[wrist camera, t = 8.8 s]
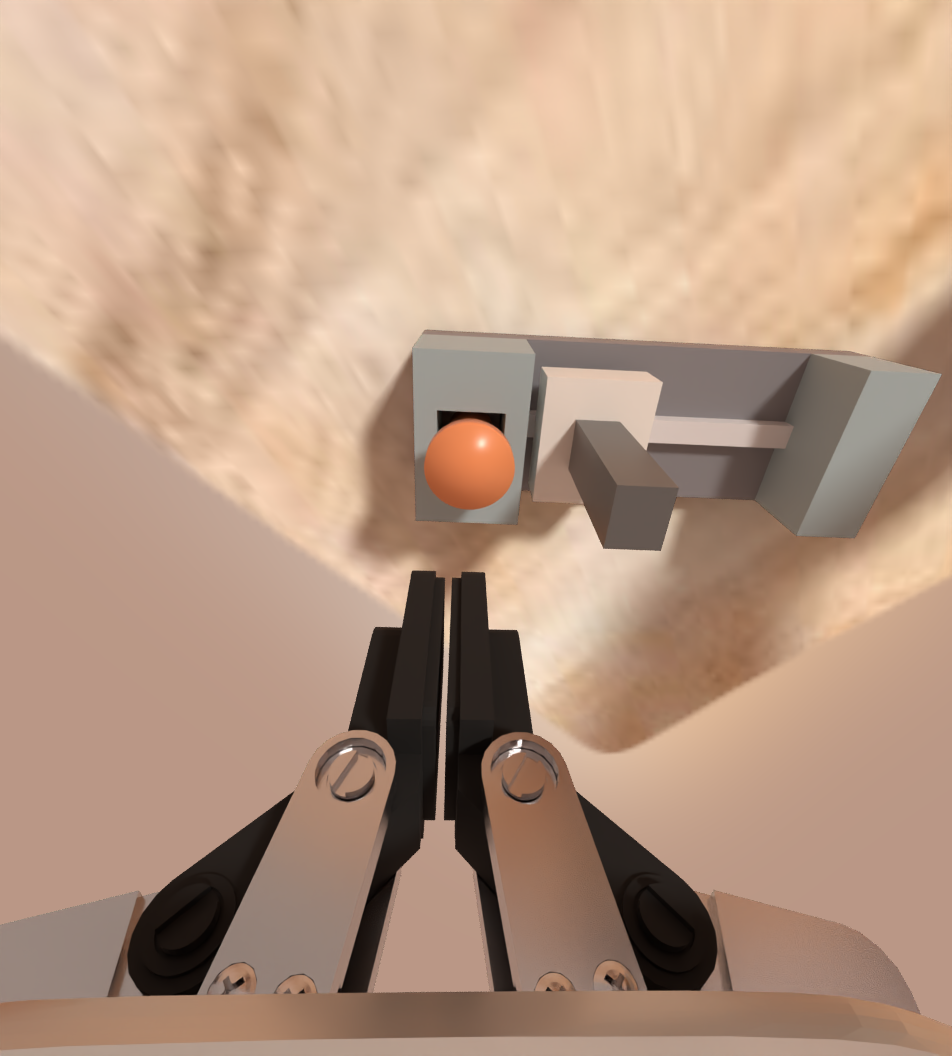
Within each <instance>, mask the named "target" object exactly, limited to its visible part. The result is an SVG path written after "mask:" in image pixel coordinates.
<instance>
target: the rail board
mask: <svg viewBox="0 0 952 1056" xmlns="http://www.w3.org/2000/svg"><path fill="white" fill-rule="evenodd" d="M412 355H413V405H414V456H415V506H416V521H438V522H463V523H488V524H512V525H517V524H518V515H519V505H520V496H521V490H528V491H530V488H529V484H528V481H529V472H530V463H531V455H532V446H533V437H534V428H535V419H536V410H537V402H538V393H539V384H540V375H541V367H560V368H581V369H601V370H622V371H642V372H648V373H649V374H651V375H652V376H654V377H655V378H657V379H658V380H660V381H662V382H663V384H662V388H661V393H660V397H659V401H658V405H657V409H656V413H655V417H654V421H653V425H652V430H651V434H650V438H649V442H648V446H647V450H646V451H647V452H648V453H649V455H650V456H651V457H652V458H653V459H654V460H655V461H656V462H657V464H658V465H659V466H660V467H661V468H662V469H663V470H664V471H665V473H666V474H667V475H668V476H669V477H670V478H671V479H672V480H673V482H674V483H675V484H676V485H677V486H678V487H679V490H678V493H677V497H694V498H718V499H742V500H755V501H756V502H758V503H759V504H760V505H761V506H762V507H763V508H764V509H766V510H767V511H768V512H769V513H770V514H771V515H773V516H774V517H775V518H776V519H777V520H778V521H780V522H781V523H782V524H783V525H784V526H785V527H786V528H788V529H789V530H790V531H791V532H792V533H793V534H795V535H796V536H812V537H836V538H855V537H856V535H857V533H858V531H859V529H860V528H861V526H862V524H863V522H864V520H865V518H866V516H867V514H868V512H869V511H870V509H871V507H872V505H873V503H874V501H875V499H876V497H877V496H878V494H879V492H880V490H881V488H882V486H883V484H884V482H885V480H886V479H887V477H888V475H889V473H890V471H891V469H892V467H893V465H894V464H895V462H896V460H897V458H898V456H899V454H900V452H901V450H902V448H903V447H904V445H905V443H906V441H907V439H908V437H909V435H910V433H911V432H912V430H913V428H914V426H915V424H916V422H917V420H918V418H919V416H920V415H921V413H922V411H923V409H924V407H925V405H926V403H927V401H928V400H929V398H930V396H931V394H932V392H933V390H934V388H935V386H936V384H937V383H938V381H939V379H940V377H941V375H942V374H939V373H935V372H931V371H927V370H923V369H919V368H915V367H911V366H907V365H903V364H899V363H895V362H891V361H887V360H883V359H879V358H875V357H870V356H866V355H862V354H858V353H854V352H850V351H832V350H812V349H792V348H773V347H753V346H733V345H713V344H694V343H674V342H654V341H634V340H615V339H595V338H575V337H555V336H536V335H516V334H496V333H476V332H457V331H437V330H425V331H424V332H423V333H422V335H421V336H420V338H419V339H418V341H417V342H416V343H415V345H414V346H413V348H412ZM457 411H462V412H483V413H486V414H487V415H488V416H489V417H490V419H491V421H492V425H493V426H495V427H496V428H498V429H499V430H500V431H501V432H502V433H503V434H504V435H505V437H506V438H507V440H508V441H509V443H510V446H511V448H512V452H513V457H514V463H515V473H514V478H513V481H512V484H511V486H510V488H509V489H508V491H507V492H506V493H505V494H504V496H503V497H501V498H500V499H499V500H498V501H496V502H495V503H493V504H491V505H489V506H487V507H484V508H480V509H474V510H466V509H459V508H455V507H453V506H450V505H448V504H446V503H444V502H443V501H441V500H440V499H439V498H438V497H437V496H436V495H435V494H434V493H433V492H432V490H431V489H430V487H429V485H428V483H427V481H426V478H425V473H424V461H425V456H426V452H427V449H428V446H429V443H430V442H431V440H432V438H433V437H434V435H435V434H436V433H437V432H438V431H439V430H440V429H441V428H443V427H444V426H446V425H447V424H449V421H450V419H451V417H452V416H453V415H454V414H455V413H456V412H457Z"/></svg>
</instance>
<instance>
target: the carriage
mask: <svg viewBox="0 0 952 1056" xmlns="http://www.w3.org/2000/svg"><path fill="white" fill-rule="evenodd" d="M662 384H663V382H662V381H660V380H658V379H657V378H655V377H654V376H652V375H651V374H649V373H648V372H642V371H622V370H601V369H581V368H560V367H541V375H540V384H539V393H538V402H537V410H536V419H535V428H534V437H533V446H532V455H531V463H530V472H529V481H528V484H529V488H530V492H531V497H532V501H533V502H553V503H577V504H584V506H585V508H586V510H587V513H588V515H589V517H590V519H591V522H592V524H593V526H594V528H595V531H596V533H597V535H598V537H599V540H600V542H601V544H602V546H603V549H629V550H655V551H661V548H662V545H663V541H664V538H665V534H666V531H667V528H668V524H669V521H670V517H671V514H672V510H673V507H674V504H675V500H676V497H677V493H678V490H679V487H678V486H677V485H676V484H675V483H674V482H673V480H672V479H671V478H670V477H669V476H668V475H667V474H666V473H665V471H664V470H663V469H662V468H661V467H660V466H659V465H658V464H657V462H656V461H655V460H654V459H653V458H652V457H651V456H650V455H649V453H648V452H647V451H646V450H647V446H648V442H649V438H650V434H651V430H652V425H653V421H654V417H655V413H656V409H657V405H658V401H659V397H660V393H661V388H662Z"/></svg>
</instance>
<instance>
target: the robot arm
mask: <svg viewBox="0 0 952 1056" xmlns="http://www.w3.org/2000/svg"><path fill="white" fill-rule="evenodd" d="M444 598H445V578H438V577H436V571H412V573H411V579H410V585H409V591H408V596H407V602H406V608H405V614H404V620H403V625H402V628H395V627H394V628H393V627H375V629H374V631H373V634H372V638H371V641H370V646H369V649H368V653H367V657H366V662H365V666H364V670H363V673H362V678H361V682H360V685H359V690H358V694H357V697H356V702H355V706H354V709H353V714H352V717H351V721H350V725H349V729H348V732H344V733H340V734H338V735H336V736H334V737H332V738H330V739H329V740H327V741H326V742H325V743H323V744H322V745H321V746H320V747H319V748H318V749H317V750H316V751H315V753H314V754H313V756H312V757H311V759H310V760H309V762H308V764H307V766H306V768H305V770H304V772H303V774H302V776H301V779H300V781H299V783H298V785H297V787H296V789H295V791H294V792H292V793H291V794H290V795H288V796H287V797H286V798H284V799H283V800H282V801H280V802H279V803H277V804H276V805H275V806H273V807H272V808H271V809H269V810H268V811H266V812H265V813H264V814H263V815H261V816H260V817H258V818H257V819H256V820H254V821H253V822H252V823H250V824H249V825H247V826H246V827H245V828H243V829H242V830H240V831H239V832H238V833H236V834H235V835H234V836H232V837H231V838H230V839H228V840H227V841H226V842H224V843H223V844H221V845H220V846H219V847H217V848H216V849H215V850H213V851H212V852H211V853H209V854H208V855H206V856H205V857H204V858H202V859H201V860H200V861H198V862H197V863H196V864H194V865H193V866H192V867H190V868H189V869H187V870H186V871H185V872H183V873H182V874H180V875H179V876H178V877H176V878H175V879H174V880H172V881H171V882H170V883H169V884H168V885H167V886H166V887H165V888H163V889H162V890H161V891H160V892H157V893H153V894H150V895H145V896H142V895H141V893H140V892H139V891H135V892H132V893H128V894H124V895H120V896H115V897H111V898H107V899H103V900H99V901H95V902H91V903H87V904H83V905H79V906H75V907H71V908H67V909H63V910H58V911H54V912H50V913H46V914H43V915H38V916H35V917H30V918H26V919H22V920H18V921H14V922H10V923H6V924H2V925H0V1056H952V1026H949V1025H946V1024H944V1023H941V1022H939V1021H936V1020H934V1019H931V1018H928V1017H926V1016H923V1015H921V1014H920V1011H919V1009H918V1007H917V1004H916V1002H915V1000H914V998H913V995H912V993H911V991H910V989H909V988H908V986H907V984H906V982H905V980H904V979H903V977H902V975H901V973H900V972H899V970H898V968H897V967H896V966H895V965H894V964H893V962H892V961H891V960H890V959H889V958H888V957H887V956H886V955H885V953H884V952H883V951H882V950H881V949H880V948H879V947H878V946H877V945H876V944H874V943H873V942H872V941H870V940H869V939H868V938H867V937H865V936H864V935H863V934H861V933H860V932H858V931H856V930H853V929H851V928H849V927H847V926H845V925H842V924H840V923H836V922H832V921H828V920H825V919H821V918H817V917H813V916H809V915H806V914H802V913H798V912H795V911H791V910H787V909H783V908H779V907H775V906H771V905H768V904H764V903H761V902H757V901H753V900H749V899H745V898H742V897H738V896H734V895H730V894H727V893H723V892H719V891H715V890H714V891H713V892H712V894H711V895H707V894H704V893H700V892H696V891H693V890H692V889H691V888H690V887H689V886H688V884H687V883H685V881H684V880H682V879H681V878H680V877H679V876H678V875H677V874H675V873H674V872H673V871H672V870H671V869H669V868H668V867H667V866H666V865H664V864H663V863H662V862H661V861H659V860H658V859H657V858H656V857H655V856H654V855H652V854H651V853H650V852H649V851H648V850H646V849H645V848H644V847H643V846H641V845H640V844H639V843H638V842H637V841H636V840H634V839H633V838H632V837H631V836H629V835H628V834H627V833H626V832H625V831H623V830H622V829H621V828H620V827H619V826H617V825H616V824H615V823H614V822H613V821H611V820H610V819H609V818H608V817H607V816H605V815H604V814H603V813H602V812H601V811H599V810H598V809H597V808H596V807H595V806H593V805H592V804H591V803H590V802H589V801H587V800H586V799H585V798H584V797H583V796H581V795H580V794H579V793H578V792H576V790H575V788H574V785H573V782H572V779H571V776H570V774H569V771H568V768H567V765H566V763H565V761H564V759H563V757H562V756H561V754H560V752H559V751H558V750H557V749H556V748H555V747H554V746H553V745H552V744H551V743H550V742H548V741H546V740H545V739H543V738H542V737H540V736H537V735H534V734H533V731H532V724H531V717H530V710H529V703H528V696H527V689H526V682H525V675H524V668H523V661H522V654H521V647H520V640H519V634H518V631H517V630H489V628H488V612H487V596H486V581H485V573H484V572H462V574H461V578H452V596H451V620H450V645H449V669H448V671H449V672H448V694H447V722H446V762H445V803H444V820H455V849H456V850H457V851H458V852H459V853H460V854H461V855H462V857H463V858H464V859H465V860H466V861H467V862H468V863H469V864H470V865H471V866H472V868H473V879H474V886H475V892H476V899H477V907H478V914H479V921H480V928H481V935H482V940H483V948H484V955H485V962H486V969H487V976H488V983H489V990H490V992H405V993H404V992H403V993H373V990H374V986H375V982H376V977H377V974H378V969H379V965H380V961H381V957H382V953H383V948H384V944H385V940H386V936H387V931H388V927H389V923H390V919H391V914H392V910H393V906H394V902H395V898H396V894H397V889H398V885H399V881H400V876H401V868H402V866H403V865H404V864H405V863H406V862H407V861H408V860H409V859H410V858H411V857H412V856H413V855H414V854H415V853H416V852H417V851H418V850H419V849H420V841H421V839H422V838H423V833H424V820H435V813H436V812H435V811H436V795H437V794H436V793H437V776H438V758H439V739H440V721H441V720H440V719H441V702H442V683H443V655H444Z"/></svg>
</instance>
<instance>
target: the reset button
mask: <svg viewBox="0 0 952 1056" xmlns="http://www.w3.org/2000/svg"><path fill="white" fill-rule="evenodd" d="M424 473H425V478H426V481H427V483H428V485H429V487H430V489H431V490H432V492H433V493H434V494H435V495H436V496H437V497H438V498H439V499H440V500H441V501H443V502H444V503H446V504H448V505H450V506H453V507H455V508H459V509H466V510H474V509H480V508H484V507H487V506H489V505H491V504H493V503H495V502H496V501H498V500H499V499H500V498H501V497H503V496H504V494H505V493H506V492H507V491H508V489H509V488H510V486H511V484H512V481H513V478H514V473H515V463H514V457H513V452H512V448H511V446H510V443H509V441H508V440H507V438H506V437H505V435H504V434H503V433H502V432H501V431H500V430H499V429H498V428H496V427H495V426H493V425H492V421H491V419H490V417H489V416H488V415H487V414H486V413H483V412H462V411H457V412H456V413H455V414H454V415H453V416H452V417H451V419H450V421H449V424H447V425H446V426H444V427H443V428H441V429H440V430H439V431H438V432H437V433H436V434H435V435H434V437H433V438H432V440H431V442H430V443H429V446H428V449H427V452H426V456H425V461H424Z"/></svg>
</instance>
